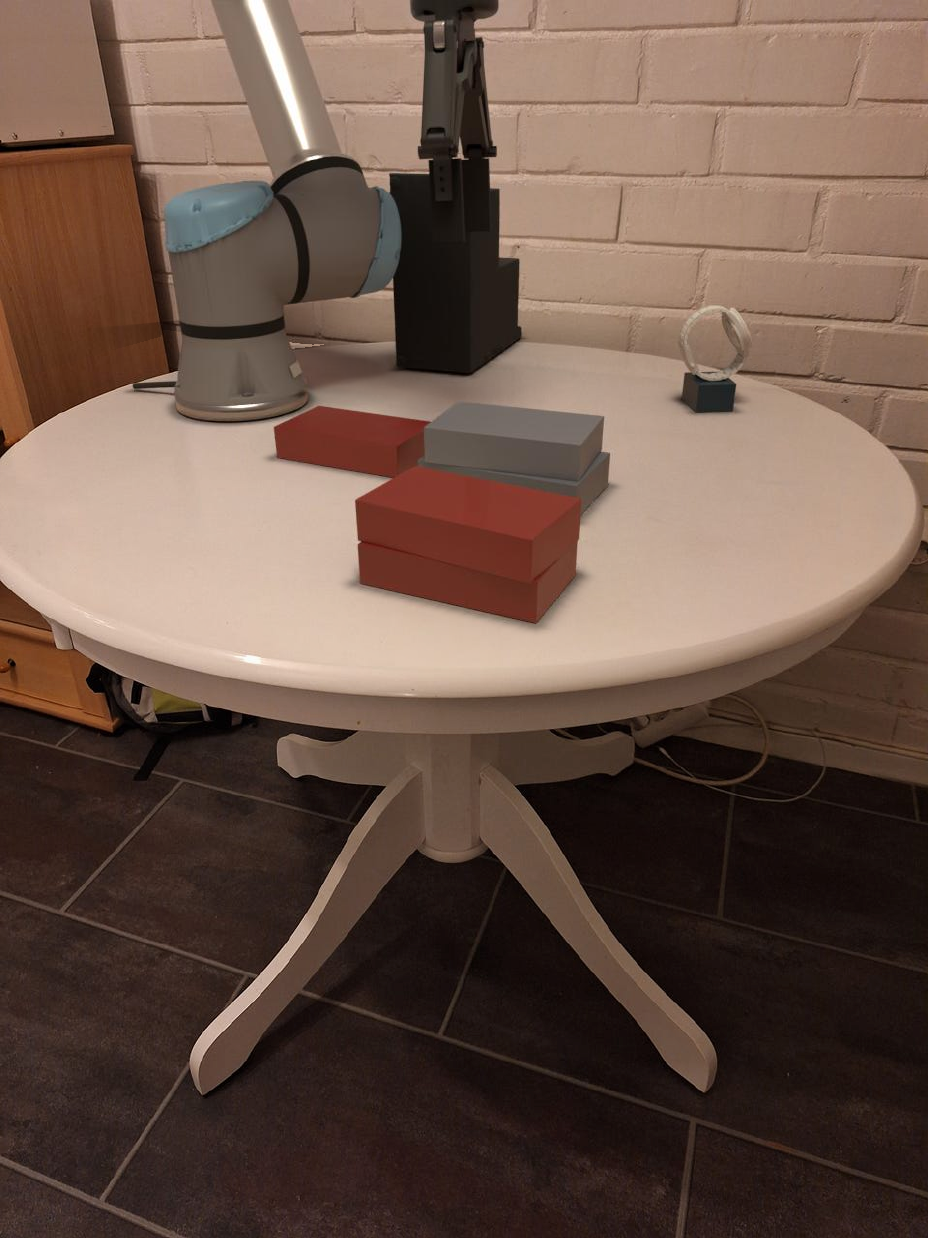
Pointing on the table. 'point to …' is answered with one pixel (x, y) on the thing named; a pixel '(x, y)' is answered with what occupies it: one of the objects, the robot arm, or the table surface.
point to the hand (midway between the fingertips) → (464, 237)
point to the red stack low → (465, 582)
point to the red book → (352, 440)
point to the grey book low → (543, 479)
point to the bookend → (450, 288)
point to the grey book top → (515, 440)
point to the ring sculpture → (714, 386)
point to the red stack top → (470, 522)
